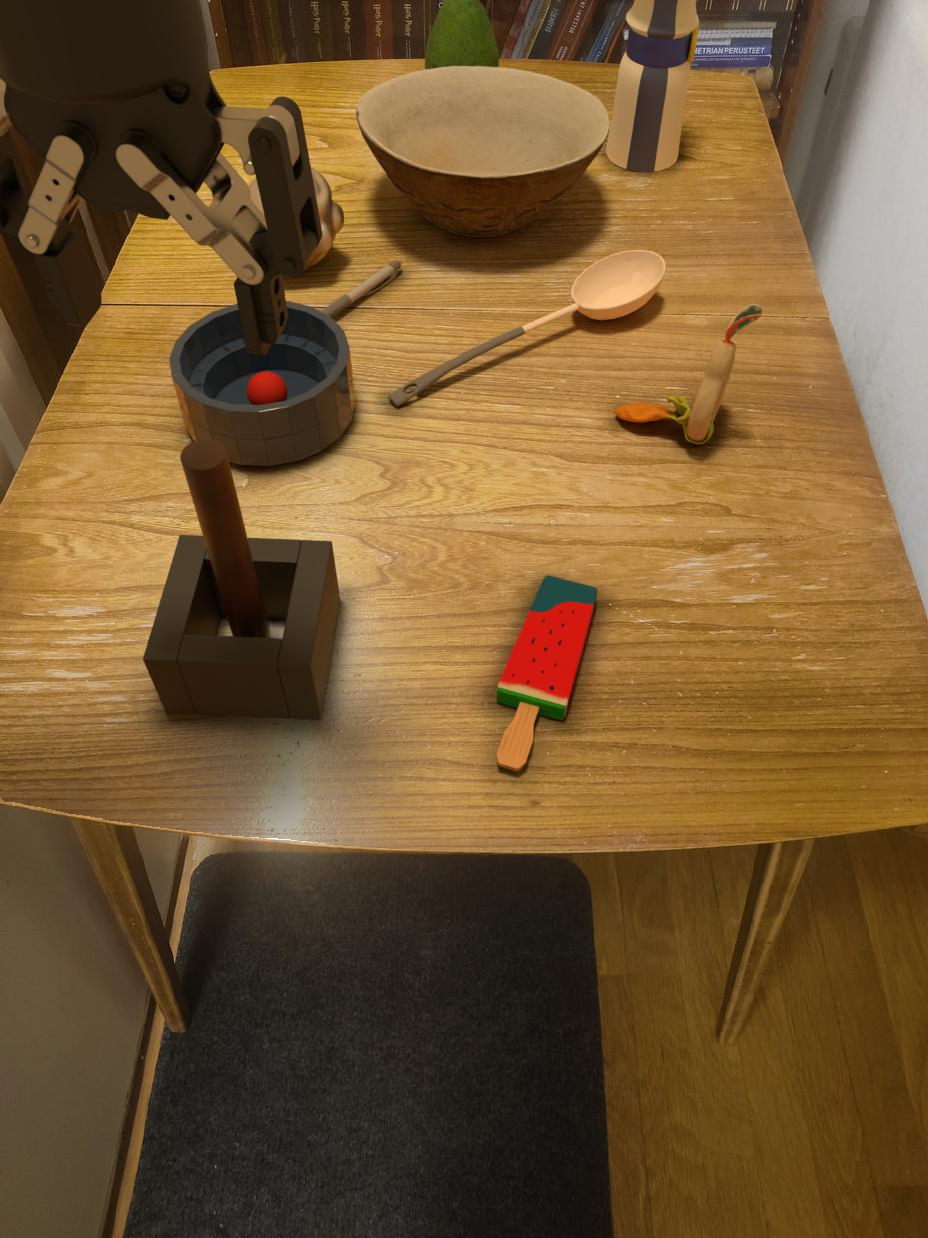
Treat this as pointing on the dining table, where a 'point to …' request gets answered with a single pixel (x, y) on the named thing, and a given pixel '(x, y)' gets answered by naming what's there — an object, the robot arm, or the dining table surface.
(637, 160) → the water bottle
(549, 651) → the popsicle
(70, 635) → the dining table surface
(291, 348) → the dark grey round dish
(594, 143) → the bowl
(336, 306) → the pen
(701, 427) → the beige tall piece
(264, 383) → the bead
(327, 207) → the copper rounded figure
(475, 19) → the fruit
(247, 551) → the stick
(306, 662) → the holder
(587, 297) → the ladle
